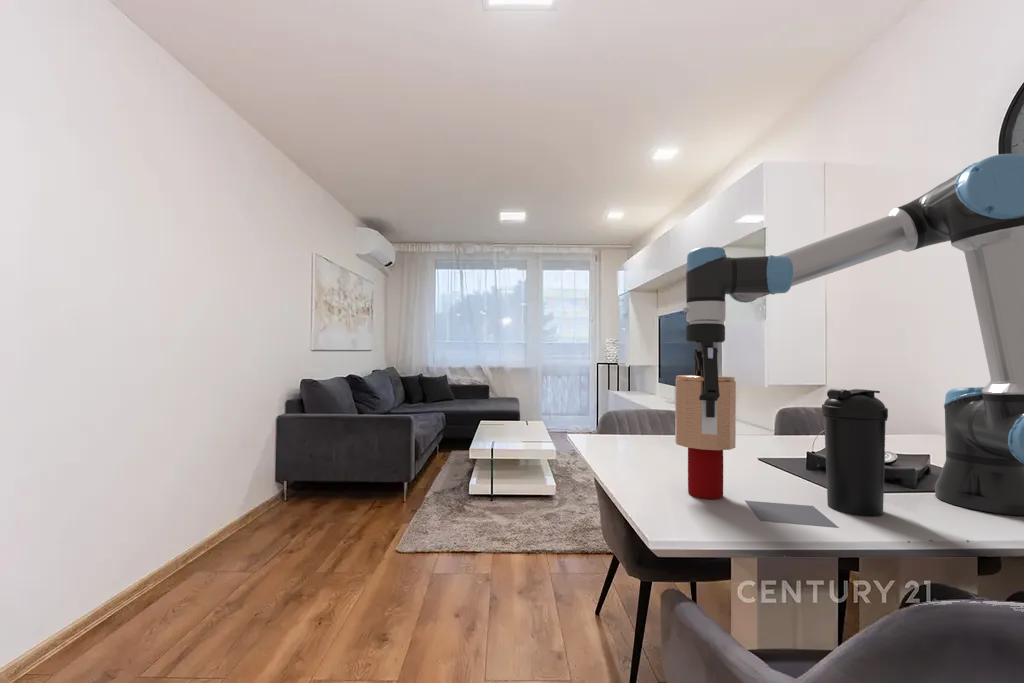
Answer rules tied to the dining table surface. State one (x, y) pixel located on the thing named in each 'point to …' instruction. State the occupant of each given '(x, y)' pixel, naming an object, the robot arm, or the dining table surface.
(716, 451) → the beverage can
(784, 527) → the dining table surface
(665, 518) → the dining table surface
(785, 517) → the mat
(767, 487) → the dining table surface
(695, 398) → the copper oval canister
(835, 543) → the dining table surface
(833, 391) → the water bottle
